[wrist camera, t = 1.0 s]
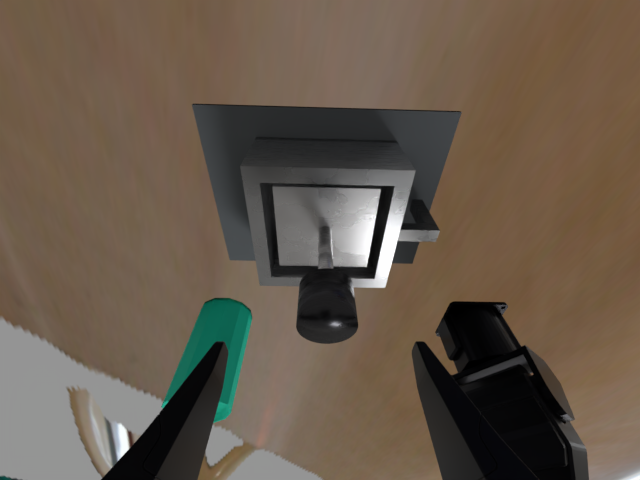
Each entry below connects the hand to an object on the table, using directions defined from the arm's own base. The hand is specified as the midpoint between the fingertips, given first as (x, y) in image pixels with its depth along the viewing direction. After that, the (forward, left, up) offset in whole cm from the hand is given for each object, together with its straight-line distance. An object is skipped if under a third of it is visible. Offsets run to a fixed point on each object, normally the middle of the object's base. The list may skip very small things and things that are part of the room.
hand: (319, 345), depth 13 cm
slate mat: (0, 0, -13) cm, 13 cm away
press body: (-2, -1, -13) cm, 13 cm away
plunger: (0, 0, -9) cm, 9 cm away
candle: (+11, +16, -13) cm, 23 cm away
